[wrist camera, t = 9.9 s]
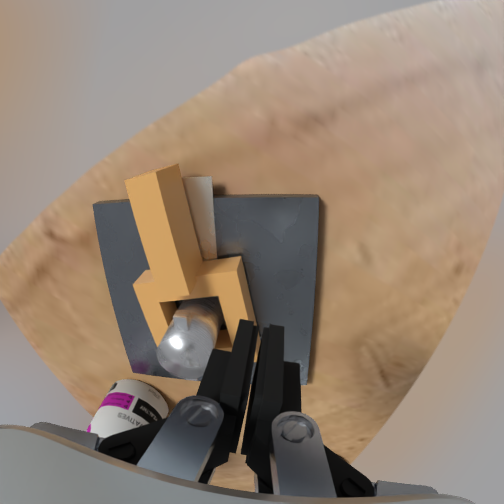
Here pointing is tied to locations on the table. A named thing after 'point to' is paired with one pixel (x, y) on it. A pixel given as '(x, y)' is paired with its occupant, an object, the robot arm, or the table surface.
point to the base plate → (212, 248)
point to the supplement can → (128, 408)
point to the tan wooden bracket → (181, 259)
